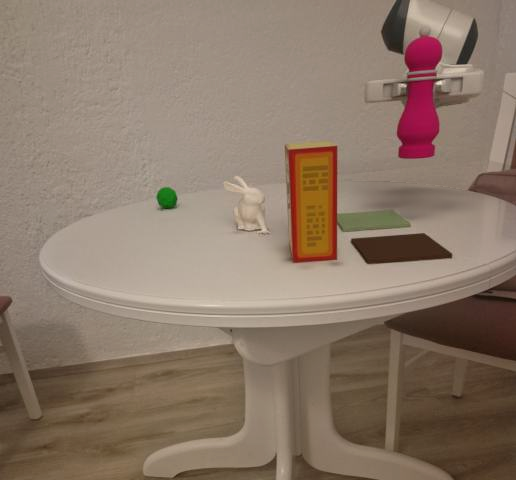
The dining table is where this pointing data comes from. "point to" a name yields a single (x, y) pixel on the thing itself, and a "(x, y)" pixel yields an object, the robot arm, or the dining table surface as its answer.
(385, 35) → the robot arm
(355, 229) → the sage mat
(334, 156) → the baking soda box
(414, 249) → the dark mat
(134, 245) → the dining table surface
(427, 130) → the pepper mill
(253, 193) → the rabbit figurine
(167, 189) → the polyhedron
